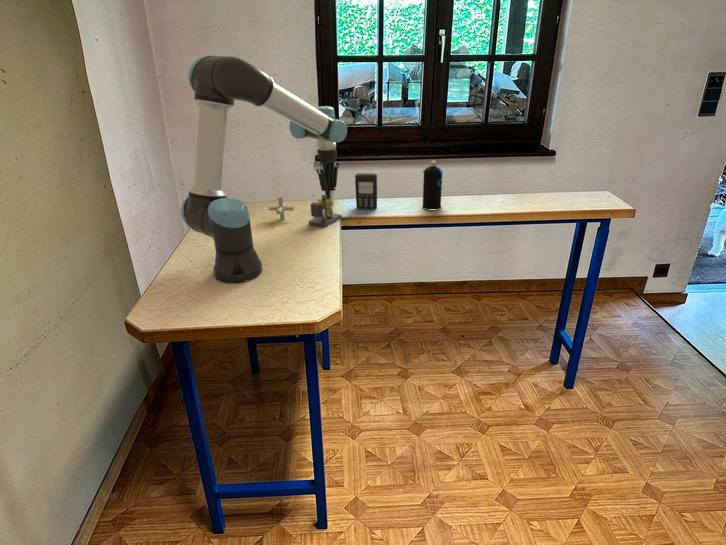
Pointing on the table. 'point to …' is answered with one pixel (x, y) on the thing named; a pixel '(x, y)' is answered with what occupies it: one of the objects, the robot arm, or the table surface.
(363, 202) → the card reader
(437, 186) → the aerosol can
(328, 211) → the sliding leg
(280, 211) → the pipe connector
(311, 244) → the table surface
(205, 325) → the table surface
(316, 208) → the bolt plate
